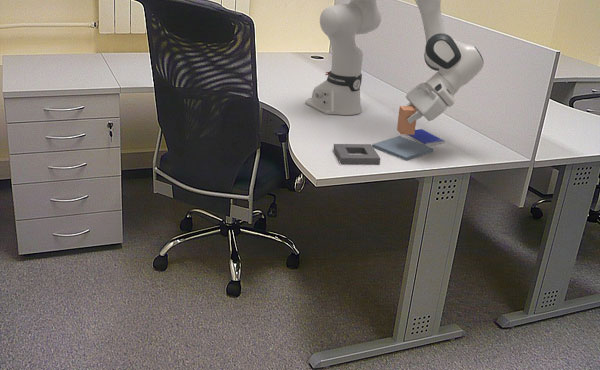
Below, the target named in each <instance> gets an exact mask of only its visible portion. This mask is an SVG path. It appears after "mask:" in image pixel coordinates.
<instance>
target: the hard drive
mask: <svg viewBox="0 0 600 370" xmlns="http://www.w3.org/2000/svg"><path fill="white" fill-rule="evenodd" d="M408 136H409V138H410V137H411V140H413V141H415V140H416V141H415V142H417V141H418V143H419V142H420V144H423V145H426V146H429V147H430V146H435V145H442V144H443V145H444V144H446V140H444V139H443V138H440V137H438V136H436V135H434V134H433V133H430V132H428V131H426V130H425V129H423V128H421V129H419V128H418V129H415V134H414V135H407V136H406V137H408Z"/></svg>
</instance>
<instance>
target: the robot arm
mask: <svg viewBox="0 0 600 370" xmlns="http://www.w3.org/2000/svg"><path fill="white" fill-rule="evenodd" d="M349 1H350V2H349V3H343V4H339V3H337V4H334V5H331V6H328V7H326V8H324V9H323V10H322V11H321V14H320V17H319V26H320V28H321V30H322V32H323V33H324V34H325V35H326V36H327V38H328V40H329V42H330V46H331V67H330V68H331V70H330V71H326V72H325V76H327V78H326V80H325V81H323V82H321V83H320V84H318V85H317V86H315V87H314V88H313V91H312V92H311V93H312V95H311V97H310V98H307V99H306V100H304V101H305V102H304V103H305V104H306V105H308V106H310V107H311V108H312V109H313V108H314V109H315V110H317V111H319V112H321V113H323V114H325V115H341V116H353V115H358V114H360V113H362V105H361V85H362V79H363V73H362V68H363V67H362V66H363V60H364V59H363V56H364V53H363V50H361V49H360V48H359V47H358V46H357V44H356V40H355V39H356V38H355V37H356V35H357V36H358V35H364V34H365V35H366V34H368V33H370V32H373V31H375V30H376V29H378V28H379V27H380V24H381V21H382V13H381V10H380V8H379V7H378V5H377V0H349ZM414 1H415V4H416V5H417V8H418V10H419V13H420V16H421V20H422V25H423V29H424V30H423V31H424V34H425V40H426V41H425V42H426V44H425V46H424V47H425V49H424V54H423V56H424V57H423V58H424V62H425V65H427V67H428V68H429V69H430V70H432V71H437V72H435V73H434V74H433V75H432V76H431V77H430V78H428V80H426V81H425V82H421V83H418V85H416V86H414V87H413V88H412V89H411V90H410V91H408V92H407V94H406V96H405V98H406V99H407V101H408V102H409V103H407V104H406V106H414V107H415V108H416V109H417V111H416V112H415V113H414V114H413V115H411V116H408V117H407V118H406V120H407V121H408V122H409V123H410V124H411V123H412V122H413V121H415V120H416V121H417V120H419V119H421V118H423V117H424V118H425V119H426V120H427V121H428V122H431V121H434V120H435V119H436V118H437V117H439V116H440V115H441V114H443V113H444V112H445V111H446V110H447V109H448V107H452V106H453V105H454V104H455V101H456V100H455V97H454V96H455V94H457V93H458V91H459V90H460V89H461V88H462V87H463V86H465V85H467V84H468V83H470V82H471V81H472V80H473V79H474V78H475V77H476V76H477V75H478V74H479V73H480V72H481V70H483V67H484V59H483V56H482V54H481V52H480V50H479V49H478V48H477V47H476V46H475V45H473V44H467V43H463V42H462V41H459V40H457V39H455V38H454V37H452V36H450V35H449V34H447V33H446V31H445V24H444V20H443V16H442V11H441V8H442V7H441V3H442V1H441V0H414Z"/></svg>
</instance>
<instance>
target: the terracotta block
mask: <svg viewBox="0 0 600 370" xmlns="http://www.w3.org/2000/svg"><path fill="white" fill-rule="evenodd" d="M416 111H417V109H416V108H415V107H414V106H407V105H400V106H399V109H398V118H397V127H396V131H397V132H398V133H399V134H400V136H401V135H403V136H406V135H414V134H415V130H416V126H417V120H415V121H413V122H412V123H411V124H410V123H409V122H408V121H407V120H406V118H407V117H408V116H411V115H413V114H414V113H415V112H416Z"/></svg>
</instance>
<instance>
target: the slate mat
mask: <svg viewBox="0 0 600 370" xmlns="http://www.w3.org/2000/svg"><path fill="white" fill-rule="evenodd" d="M371 145H372V147H373V148H374V149H376V150H378V151H382V152H384V153H385V154H386V153H387V154H389V155H391V156H394V157H396V158H400V159H402V160H404V161H409V160H412V159H414V158H418V157H420V156H423V155H426V154H429V153H432V152H434V147H431V146H430V145H429V146H426V145H423V144H421V143H419V142H417V141H415V140H413V139H409V138H407V137H404V136H401V135H399V136H395V137H392V138H388V139H385V140H381V141H379V142H375V143H371Z"/></svg>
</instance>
